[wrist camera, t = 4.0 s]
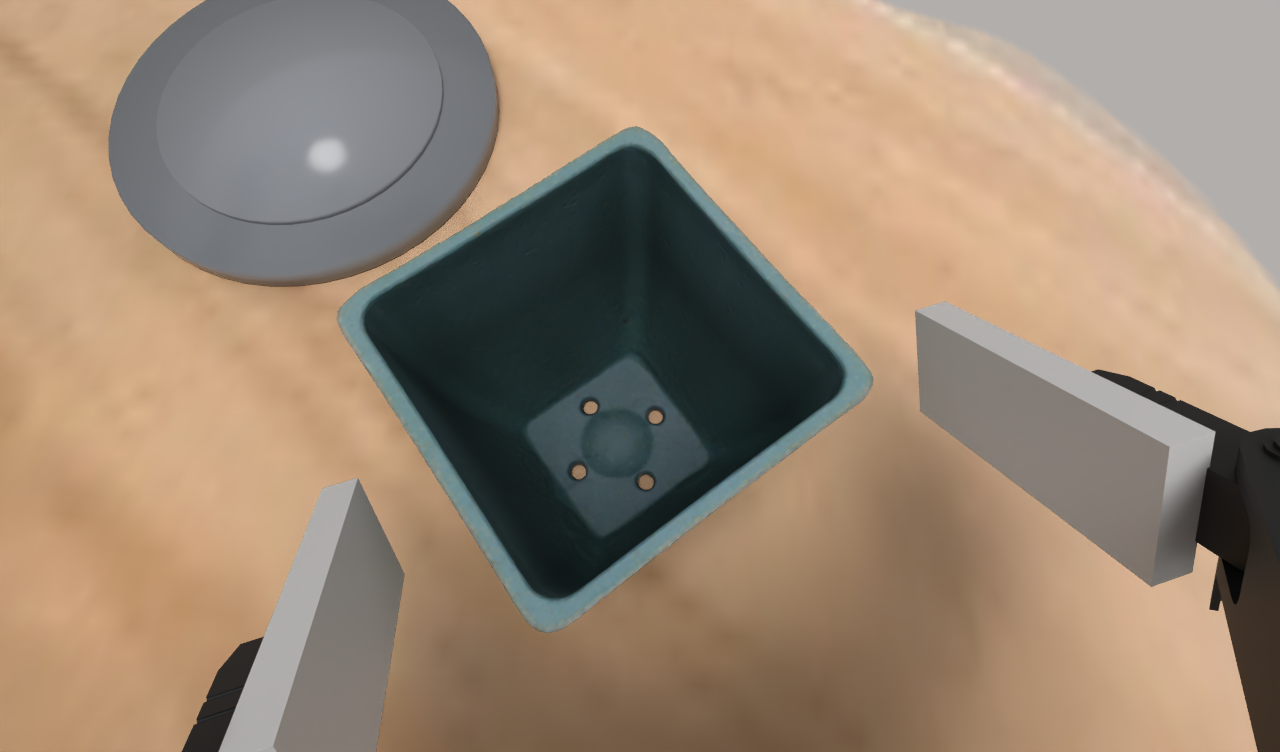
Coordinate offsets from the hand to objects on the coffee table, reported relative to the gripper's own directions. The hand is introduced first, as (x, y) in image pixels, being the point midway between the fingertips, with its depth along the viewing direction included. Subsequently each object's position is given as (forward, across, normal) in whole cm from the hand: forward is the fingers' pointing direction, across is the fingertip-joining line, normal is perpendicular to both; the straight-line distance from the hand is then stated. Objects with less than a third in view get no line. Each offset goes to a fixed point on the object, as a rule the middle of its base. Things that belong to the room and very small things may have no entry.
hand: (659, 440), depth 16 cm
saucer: (+18, -9, +8) cm, 22 cm away
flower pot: (+7, -1, -4) cm, 8 cm away
